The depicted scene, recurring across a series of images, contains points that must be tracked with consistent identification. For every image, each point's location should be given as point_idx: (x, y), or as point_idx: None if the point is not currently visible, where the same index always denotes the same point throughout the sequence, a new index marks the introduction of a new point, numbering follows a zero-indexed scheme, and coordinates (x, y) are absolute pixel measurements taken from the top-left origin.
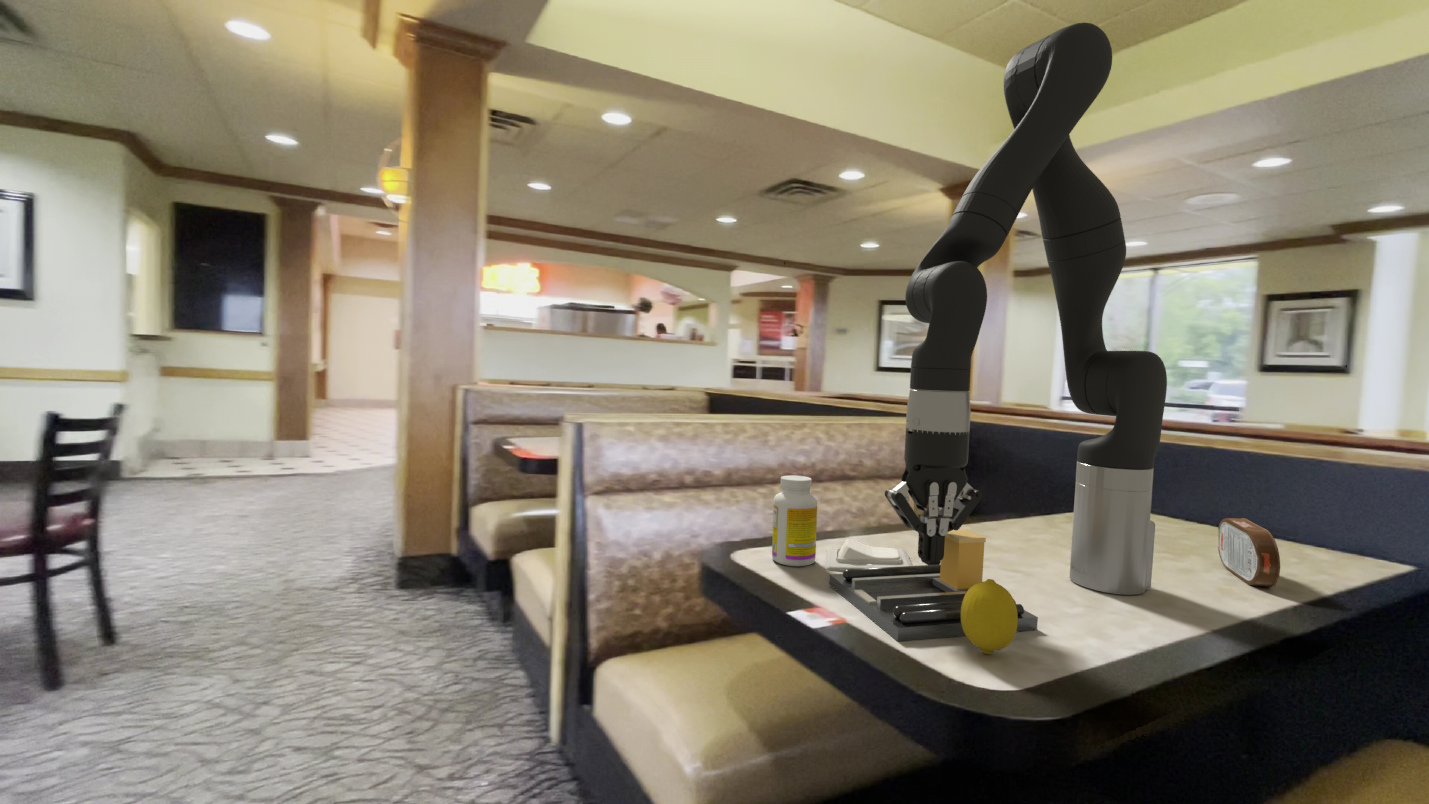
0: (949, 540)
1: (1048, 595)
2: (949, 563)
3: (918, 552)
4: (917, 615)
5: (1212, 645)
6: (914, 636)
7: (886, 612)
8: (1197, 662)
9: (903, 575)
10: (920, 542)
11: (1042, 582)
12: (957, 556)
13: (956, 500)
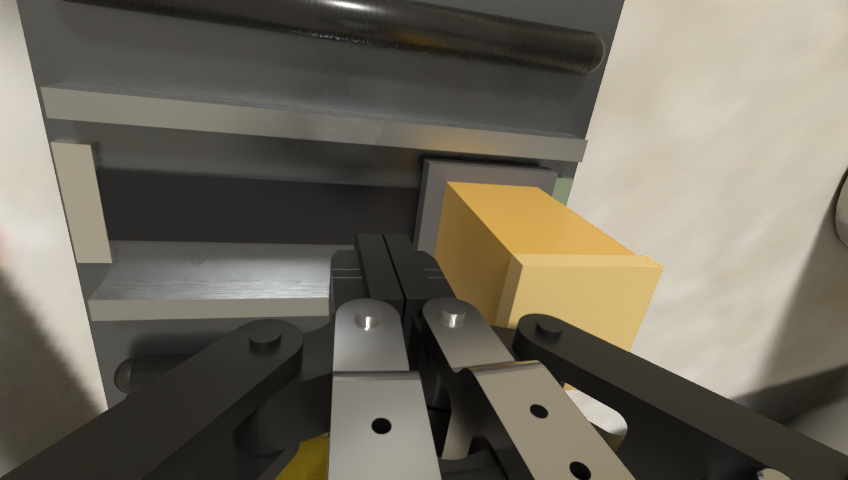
0: (496, 310)
1: (721, 205)
2: (461, 262)
3: (330, 266)
4: None
5: None
6: None
7: (120, 325)
8: None
9: (327, 115)
10: (332, 307)
11: (811, 118)
12: None
13: (707, 449)
